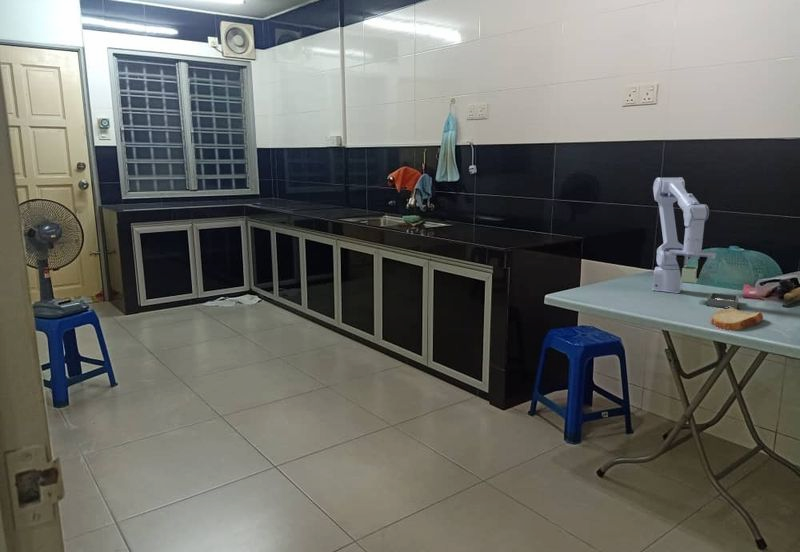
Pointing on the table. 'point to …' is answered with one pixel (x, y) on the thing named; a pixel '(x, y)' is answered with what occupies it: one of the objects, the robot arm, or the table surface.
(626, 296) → the table surface
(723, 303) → the grey rectangular tray
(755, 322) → the bread slice
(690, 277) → the small crate
